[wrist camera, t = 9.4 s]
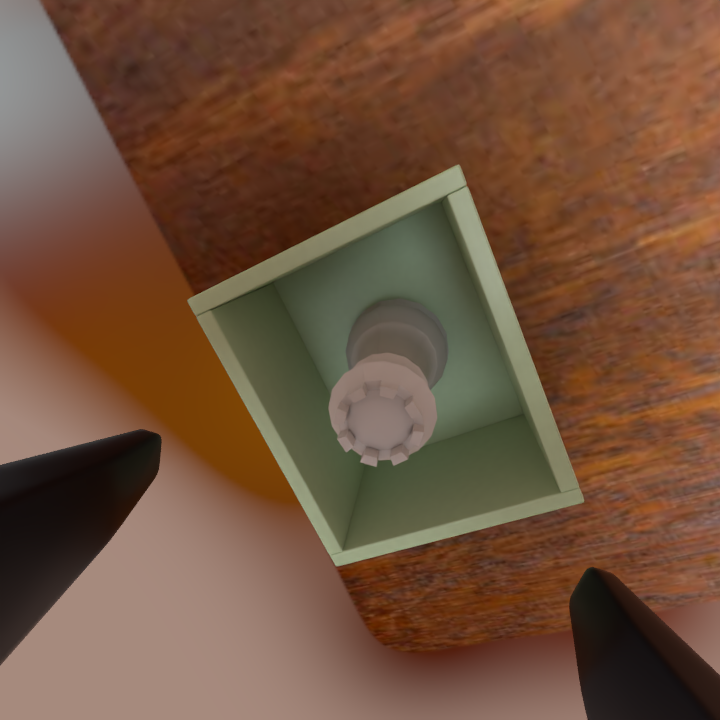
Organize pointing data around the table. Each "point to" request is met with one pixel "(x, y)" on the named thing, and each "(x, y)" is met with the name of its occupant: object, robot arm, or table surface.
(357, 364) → the rook chess piece
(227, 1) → the table surface
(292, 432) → the bin
